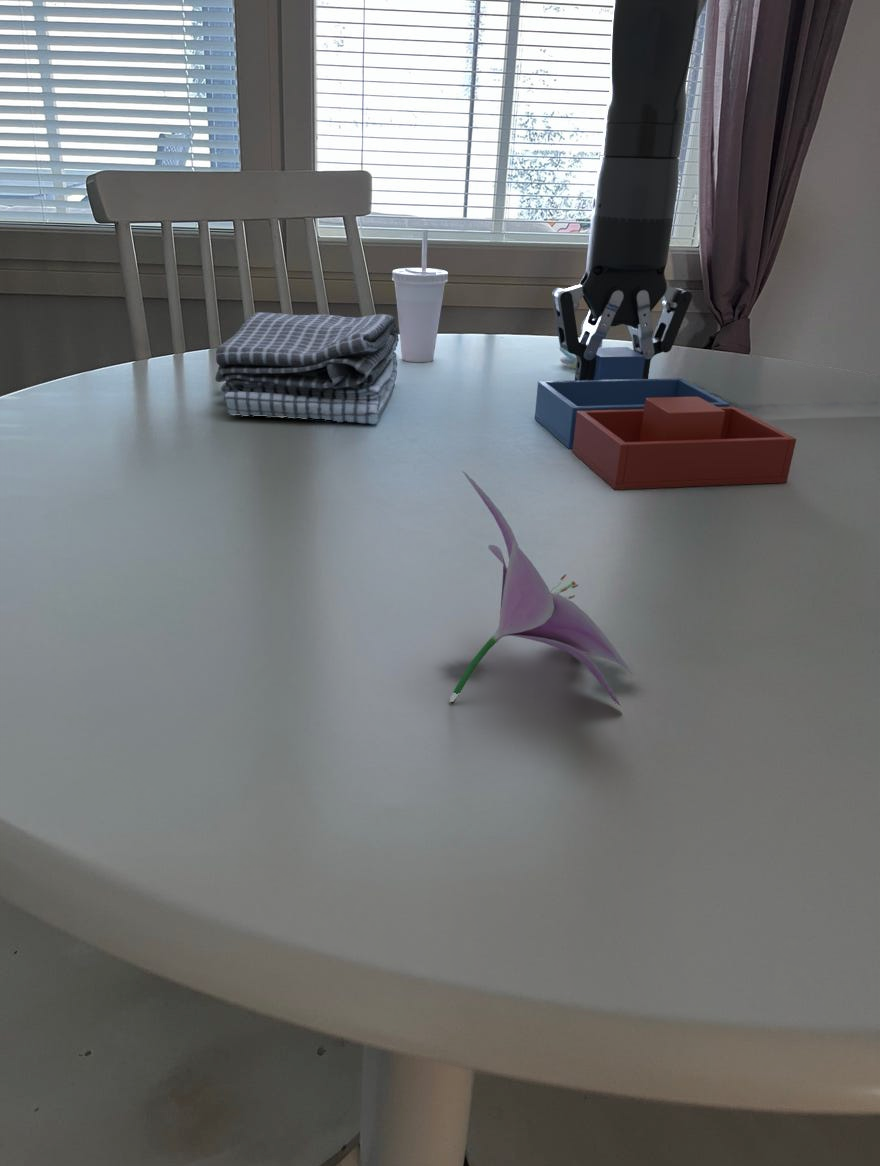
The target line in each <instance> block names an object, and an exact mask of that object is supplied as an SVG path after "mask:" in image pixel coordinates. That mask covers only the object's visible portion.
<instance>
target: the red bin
mask: <svg viewBox="0 0 880 1166" xmlns="http://www.w3.org/2000/svg"><path fill="white" fill-rule="evenodd" d="M718 408H720V409H722V410H724V411H725V415H724V420H723V426H722V431H721V436H720V439H710V440H680V441H649V442H639V441H640V434H641V427H642V420H643V413H644V409H629V410H592V411H577V415H576V424H575V433H574V442H573V449H571V452H572V453H573V454H574V455H575V456H576V457H577V458H578V459H579V460H580V461H582V462H583V463H584V464H585V465H586V466H587V467H589V468H590V469H591V470H592V471H593V472H594V473H595V474H596V475H598V476H599V477H600V478H601V479H602V480H603V481H604V482H605V483H607V484H608V485H609V486H610V487H611V488H612V489H613V490H614V491H617V490H618V491H619V490H645V489H665V488H666V489H667V488H668V489H669V488H687V487H688V488H689V487H690V488H692V487H713V486H736V485H737V486H739V485H761V484H765V485H766V484H785V483H787V482H788V479H789V475H790V469H791V465H792V462H793V461H792V460H793V456H794V452H795V447H796V443H797V438H795V437H794V436H792V435H790V434H788V433H786V432H784V431H782V430H781V429H778V428H776V427H775V426H773V425H771V424H769V423H768V422H765V421H763V420H762V419H759V418H758V417H755V415H752V414H750V413H748V412H746V411H744V410H742V409H740V408H739V407H737V406H730V407H718Z"/></svg>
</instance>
